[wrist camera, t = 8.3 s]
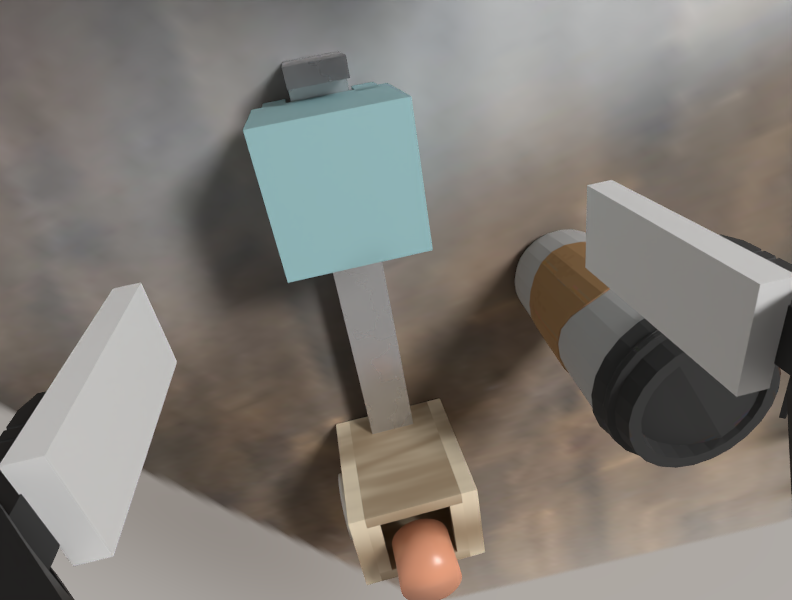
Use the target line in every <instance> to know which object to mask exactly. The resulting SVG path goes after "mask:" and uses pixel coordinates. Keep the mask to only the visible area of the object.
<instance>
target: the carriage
mask: <svg viewBox="0 0 792 600" xmlns="http://www.w3.org/2000/svg"><path fill="white" fill-rule="evenodd" d="M351 87H352V90H349V91H344V92H339V93H334V94H329V95H324V96H319V97H314V98H309V99H304V100H299V101H293V102H288V103H286V100H285V99H283V100H278V101H273V102H268V103H263V105H262V108H258V109H253V110H251V113H250V115H249V117H248V119H247V122H246V124H245V126H244V129H243V132H244V136H245V139H246V142H247V146H248V149H249V153H250V156H251V159H252V163H253V166H254V170H255V173H256V176H257V180H258V183H259V187H260V190H261V193H262V197H263V200H264V204H265V207H266V210H267V214H268V217H269V221H270V224H271V227H272V231H273V234H274V238H275V241H276V244H277V248H278V251H279V254H280V258H281V261H282V265H283V268H284V271H285V275H286V278H287V282H288V283H289V282H294V281H298V280H303V279H307V278H312V277H316V276H320V275H325V274H329V273H334V272H338V271H342V270H347V269H351V268H356V267H360V266H365V265H369V264H373V263H378V262H382V261H387V260H391V259H395V258H400V257H404V256H409V255H413V254H418V253H422V252H426V251H431V250H433V249H432V242H431V234H430V227H429V220H428V213H427V206H426V199H425V191H424V184H423V177H422V170H421V163H420V156H419V148H418V141H417V134H416V127H415V120H414V113H413V105H412V98H411V96H410V95H408V94H406V93H404V92H403V91H401V90H399V89H397V88H395V87H394V86H392V85H390V84H388V83H385V84H379V85H377V84H376V83H374V82H370V83H365V84H360V85H354V86H351Z"/></svg>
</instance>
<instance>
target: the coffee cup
mask: <svg viewBox="0 0 792 600" xmlns="http://www.w3.org/2000/svg"><path fill="white" fill-rule="evenodd" d="M585 263H586V233H584V232H582V231H577V230H573V229H570V230H559V231H555V232H552V233H549V234H546V235H544V236H542V237H540V238H539V239H537V240H535V241H534V242H533V243H532V244H531V245H530V246H529V247H528V248H527V249H526V250H525V252H524V253H523V255H522V256H521V258H520V260H519V263H518V265H517V268H516V275H515V288H516V294H517V296H518V297H519V299H520V301H521V303H522V304H523V306H524V307H525V309H526V310H527V312H528V313H529V315H530V316H531V318H532V319H533V321H534V323H535V325H536V327H537V329H538V330H539V332H540V333H541V335H542V336H543V338H544V339H545V341H546V342H547V344H548V345H549V347H550V348H551V350H552V351H553V353H554V354H555V356H556V357H557V359H558V360H559V362H560V363H561V365H562V366H563V367H564V369H565V370H566V371H567V372H568V373H569V374H570V375H571V377H572V378H573V380H574V381H575V383H576V384H577V386H578V387H579V389H580V390H581V392H582V393H583V395H584V396H585V397H586V399H587V400H588V402H589V403H590V405H591V406H592V408H593V413H594V415H595V417H596V419H597V421H598V423H599V425H600V427H602V428H603V429H604V430H605V431H606V432H607V433H608V434H610V435H611V437H612V438H613V439H614V440H615V441H616V442H617V443H618V444H619V445H621V446H622V447H623V448H624V449H625V450H626V451H629V452H632V453H634V454H637V455H639V456H641V457H642V458H643V459H644V460H645V461H647V462H650V463H652V464H655V465H657V466H662V467H675V468H676V467H683V466H689V465H695V464H698V463H700V462H703V461H706V460H709V459H712V458H714V457H716V456H718V455H719V454H721V453H723V452H725V451H727V450H729V449H730V448H732V447H733V446H734V445H736V444H737V443H738V442H740V441H741V440H742V439H744V438H745V437H746V436H747V435H748V434H749V433H750V432H751V431H752V430H753V429H754V428H755V427H756V426H757V425H758V424H759V423H760V422H761V421H762V419H763V418H764V416H765V415H766V413H767V412H768V410H769V409H770V407H771V406H772V404H773V401H774V399H775V397H776V394H777V392H778V389H779V383H780V375H781V370H780V368H779V367H778V366H777V365H775V368H774V372H773V376H772V380H771V384H770V388H769V389H765V390H761V391H757V392H753V393H749V394H746V395H742V396H738V397H736V396H735V395H734V394H733V393H731V392H730V391H729V390H728V389H727V388H726V387H724V386H723V385H722V384H721V383H720V382H719V381H717V380H716V379H715V378H714V377H713V376H712V375H710V374H709V373H708V372H707V371H706V370H705V369H703V368H702V367H701V366H700V365H699V364H698V363H696V362H695V361H694V360H693V359H692V358H691V357H689V356H688V355H687V354H686V353H685V352H684V351H682V350H681V349H680V348H679V347H678V346H676V345H675V344H674V343H673V342H672V341H671V340H669V339H668V338H667V337H666V336H665V335H664V334H662V333H661V332H660V331H659V330H658V329H657V328H655V327H654V326H653V325H652V324H651V323H650V322H648V321H647V320H646V319H645V318H644V317H643V316H641V315H640V314H639V313H638V312H637V311H636V310H634V309H633V308H632V307H631V306H630V305H629V304H627V303H626V302H625V301H624V300H623V299H622V298H620V297H619V296H618V295H617V294H616V293H615V292H613V291H612V290H611V289H610V288H609V287H607V286H606V285H605V284H604V283H603V282H602V281H600V280H599V279H598V278H597V277H596V276H595V275H593V274H592V273H591V272H590V271H589V270H588V269H586V268H585Z"/></svg>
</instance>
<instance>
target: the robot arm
mask: <svg viewBox="0 0 792 600" xmlns="http://www.w3.org/2000/svg"><path fill="white" fill-rule="evenodd" d="M585 268H586V269H588V270H589V271H590V272H591V273H592V274H593V275H595V276H596V277H597V278H598V279H599V280H600V281H602V282H603V283H604V284H605V285H606V286H607V287H609V288H610V289H611V290H612V291H613V292H615V293H616V294H617V295H618V296H619V297H620V298H622V299H623V300H624V301H625V302H626V303H627V304H629V305H630V306H631V307H632V308H633V309H634V310H636V311H637V312H638V313H639V314H640V315H641V316H643V317H644V318H645V319H646V320H647V321H648V322H650V323H651V324H652V325H653V326H654V327H655V328H657V329H658V330H659V331H660V332H661V333H662V334H664V335H665V336H666V337H667V338H668V339H669V340H671V341H672V342H673V343H674V344H675V345H676V346H678V347H679V348H680V349H681V350H682V351H684V352H685V353H686V354H687V355H688V356H689V357H691V358H692V359H693V360H694V361H695V362H696V363H698V364H699V365H700V366H701V367H702V368H703V369H705V370H706V371H707V372H708V373H709V374H710V375H712V376H713V377H714V378H715V379H716V380H717V381H719V382H720V383H721V384H722V385H723V386H724V387H726V388H727V389H728V390H729V391H730V392H731V393H733V394H734V395H735V396H736V397H738V396H742V395H746V394H749V393H753V392H757V391H761V390H765V389H769V388H770V384H771V380H772V376H773V372H774V368H775V365H777V366H778V367H779V368H781V369H782V370H784V371H785V372H786V373H788V374H789V375H790V379H789V382H788V386H787V390H786V394H785V397H784V401H783V405H782V408H781V412H780V416H779V417H780V418H786V416H787V414H788V431H789V452H790V472H791V492H792V264H790V263H788V262H786V261H784V260H782V259H780V258H777V259H776V257H775V256H774V255H772V254H770V253H768V252H766V251H761V249H760V248H758V247H756V246H754V245H752V244H750V243H748V242H746V241H744V240H740V239H736V238H732V237H728V236H724V235H718V234H716V233H714V232H712V231H710V230H708V229H706V228H704V227H702V226H700V225H698V224H696V223H694V222H692V221H691V220H689V219H687V218H685V217H683V216H681V215H679V214H677V213H675V212H673V211H671V210H669V209H667V208H665V207H663V206H661V205H659V204H657V203H655V202H653V201H652V200H650V199H648V198H646V197H644V196H642V195H640V194H638V193H636V192H634V191H632V190H630V189H628V188H626V187H624V186H622V185H620V184H618V183H616V182H615V181H613V180H609V181H605V182H600V183H596V184H591V185H587V220H586V263H585ZM176 363H177V361H176V359H175V356H174V354H173V352H172V350H171V348H170V345H169V343H168V341H167V339H166V337H165V334H164V332H163V330H162V328H161V326H160V323H159V321H158V319H157V317H156V315H155V312H154V310H153V308H152V306H151V304H150V301H149V299H148V297H147V295H146V293H145V290H144V288H143V286H142V284H141V283H137V284H132V285H128V286H123V287H119V288H114V289H113V290H112V291H111V293H110V294H109V296H108V297H107V299H106V300H105V302H104V303H103V305H102V307H101V308H100V310H99V311H98V313H97V314H96V316H95V317H94V319H93V320H92V322H91V324H90V325H89V327H88V328H87V330H86V331H85V333H84V334H83V336H82V338H81V339H80V341H79V342H78V344H77V345H76V347H75V348H74V350H73V351H72V353H71V355H70V356H69V358H68V359H67V361H66V362H65V364H64V365H63V367H62V369H61V370H60V372H59V373H58V375H57V376H56V378H55V379H54V381H53V382H52V384H51V386H50V387H49V389H48V390H47V391H46V392H42V393H37V394H36V395H35V396H34V397H33V398H32V399H31V400H29V401H28V402H27V403H26V404H25V405H24V406H22V407H21V408H20V409H19V410H18V411H17V413H16V414H15V415H14V417H13V418H12V420H11V421H10V423H9V424H8V426H7V430H5V431H3V433H2V434H1V436H0V600H74V599H73V597H72V596H71V594H70V593H69V591H68V590H67V588H66V587H65V586H64V584H63V583H62V581H61V580H60V578H59V577H58V576H57V574H56V573H55V572H54V571H53V569H52V568H51V565H52V563H53V560H54V558H55V556H56V554H57V551H58V549H59V548H60V549H61V551H62V552H63V553H64V555H65V556H66V557H67V558H68V560H69V561H70V562H71V564H72V565H73V566H77V565H81V564H85V563H89V562H93V561H97V560H101V559H104V558H109V557H112V556H114V554H115V550H116V547H117V544H118V541H119V538H120V535H121V532H122V529H123V526H124V523H125V520H126V517H127V513H128V511H129V507H130V504H131V501H132V498H133V495H134V492H135V489H136V486H137V483H138V480H139V477H140V474H141V471H142V468H143V464H144V461H145V458H146V455H147V452H148V449H149V446H150V443H151V440H152V437H153V434H154V431H155V428H156V425H157V421H158V418H159V415H160V412H161V409H162V406H163V403H164V400H165V397H166V394H167V391H168V388H169V385H170V382H171V378H172V375H173V372H174V369H175V366H176Z"/></svg>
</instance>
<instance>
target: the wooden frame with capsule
mask: <svg viewBox="0 0 792 600" xmlns="http://www.w3.org/2000/svg"><path fill="white" fill-rule="evenodd" d="M410 410H411V415H412V420H413V424H411V425H407V426H403V427H399V428H395V429H391V430H387V431H383V432H379V433H375V434H372V430H371V426H370V422H369V418H368V416H367V417H363V418H359V419H355V420H351V421H347V422H343V423H339V424H336V429H337V437H338V445H339V453H340V462H341V470H342V473H340V474H338V482H339V490H340V497H341V502H342V508H343V513H344V517H345V521H346V525H347V529H348V533H349V536H350V538H351V540H352V541H353V542H354V545H355V548H356V551H357V554H358V558H359V561H360V564H361V567H362V571H363V574H364V577H365V580H366V583H367V585H369V584H373V583H376V582H380V581H384V580H387V579H391V578H394V577H398V572H397V567H396V562H395V557H394V552H393V547H392V540H393V537H394V535H395V533H396V532H397V531H398V530H399V529H400V528H401V527H402V526H404V525H405V524H407V523H409V522H412V521H414V520H418V519H435V520H438V521H440V522H442V523H443V524H444V525H445V526H446V528H447V530H448V533H449V536H450V540H451V543H452V546H453V549H454V552H455V555H456V558H457V560H459V559H463V558H466V557H470V556H473V555H477V554H481V553H484V552H485V548H484V540H483V532H482V524H481V516H480V508H479V500H478V492H477V488H476V486H475V483H474V481H473V478H472V476H471V473H470V471H469V469H468V466H467V464H466V461H465V459H464V456H463V454H462V451H461V449H460V447H459V444H458V442H457V439H456V437H455V434H454V432H453V430H452V427H451V425H450V422H449V420H448V417H447V415H446V412H445V410H444V408H443V405H442V403H441V400H440V398H439V399H435V400H431V401H427V402H423V403H419V404H415V405H411V406H410Z"/></svg>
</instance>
